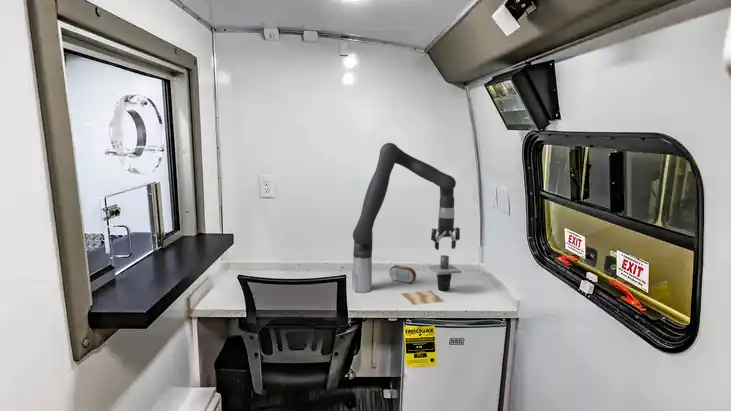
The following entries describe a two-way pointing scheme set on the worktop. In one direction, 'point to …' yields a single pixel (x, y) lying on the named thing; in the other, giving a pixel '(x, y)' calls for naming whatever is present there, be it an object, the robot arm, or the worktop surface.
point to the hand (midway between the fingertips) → (445, 248)
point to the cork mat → (422, 297)
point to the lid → (444, 267)
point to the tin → (402, 274)
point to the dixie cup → (444, 282)
